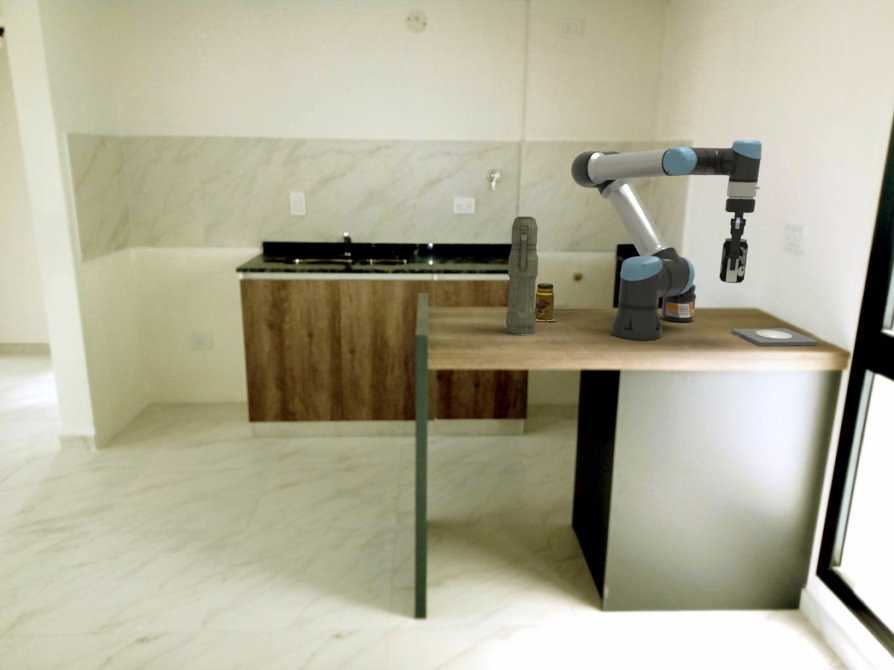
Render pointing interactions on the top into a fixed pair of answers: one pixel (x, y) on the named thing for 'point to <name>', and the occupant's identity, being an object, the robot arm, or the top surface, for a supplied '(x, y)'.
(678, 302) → the supplement container
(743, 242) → the beverage can
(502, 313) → the top surface
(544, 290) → the condiment
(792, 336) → the plate
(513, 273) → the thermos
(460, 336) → the top surface
